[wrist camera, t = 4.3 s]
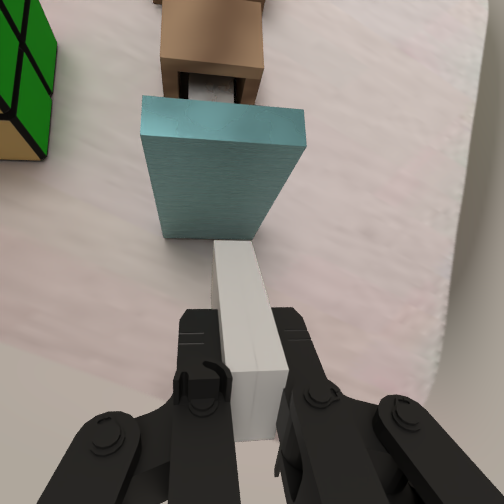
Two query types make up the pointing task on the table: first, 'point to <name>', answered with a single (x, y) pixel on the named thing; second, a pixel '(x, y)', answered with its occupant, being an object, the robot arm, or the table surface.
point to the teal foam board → (217, 159)
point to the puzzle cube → (25, 79)
